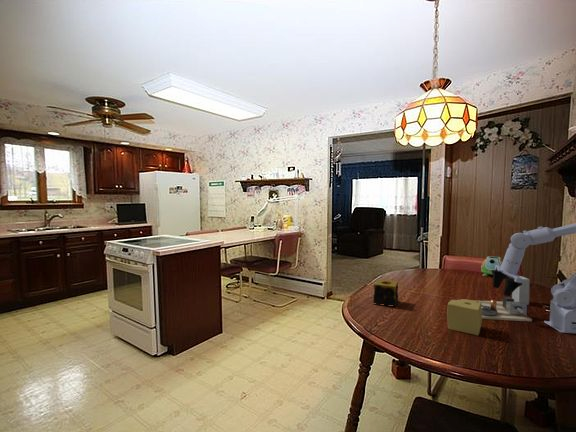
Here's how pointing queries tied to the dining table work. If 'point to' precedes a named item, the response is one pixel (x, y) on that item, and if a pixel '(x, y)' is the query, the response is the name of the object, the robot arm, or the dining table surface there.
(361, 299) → the dining table surface
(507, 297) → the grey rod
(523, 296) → the skincare box
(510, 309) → the block
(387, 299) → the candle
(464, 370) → the dining table surface
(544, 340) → the dining table surface
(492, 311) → the handwheel
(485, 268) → the turtle holder
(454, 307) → the cheese
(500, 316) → the board
